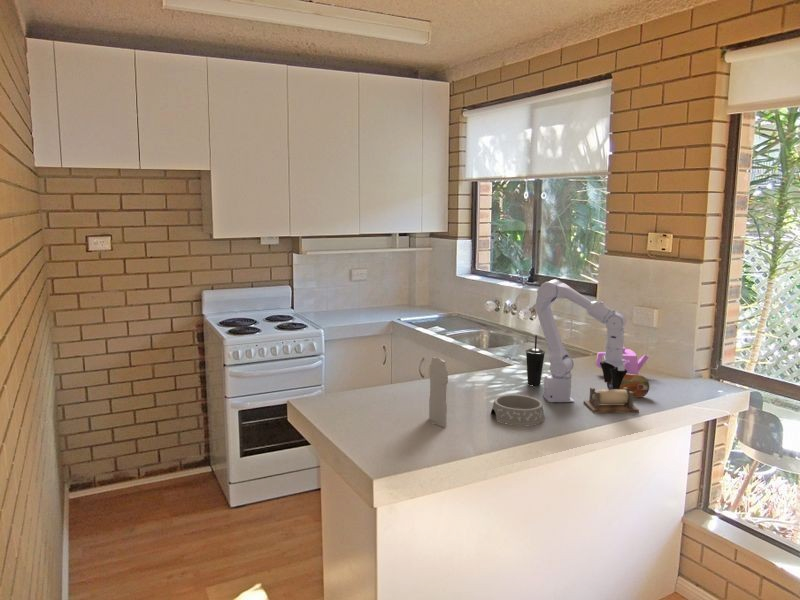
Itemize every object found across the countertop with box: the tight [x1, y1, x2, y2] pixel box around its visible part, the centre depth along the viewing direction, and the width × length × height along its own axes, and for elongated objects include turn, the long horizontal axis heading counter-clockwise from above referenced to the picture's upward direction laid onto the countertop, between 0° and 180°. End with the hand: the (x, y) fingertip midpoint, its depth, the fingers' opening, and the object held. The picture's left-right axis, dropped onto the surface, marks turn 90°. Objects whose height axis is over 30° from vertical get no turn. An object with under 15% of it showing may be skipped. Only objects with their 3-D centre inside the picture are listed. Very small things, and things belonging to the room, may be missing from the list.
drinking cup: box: [525, 334, 546, 387], centre depth 243 cm, size 8×8×20 cm
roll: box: [592, 389, 628, 404], centre depth 218 cm, size 13×5×5 cm, turn 93°
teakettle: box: [595, 346, 650, 375], centre depth 257 cm, size 17×17×12 cm
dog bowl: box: [490, 394, 546, 427], centre depth 209 cm, size 17×18×5 cm
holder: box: [583, 387, 640, 414], centre depth 218 cm, size 16×10×6 cm, turn 93°
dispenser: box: [428, 356, 449, 428], centre depth 200 cm, size 11×4×22 cm, turn 28°
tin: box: [606, 374, 650, 399], centre depth 232 cm, size 15×3×8 cm, turn 62°
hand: (611, 385), depth 217 cm, fingers open, 7 cm apart
